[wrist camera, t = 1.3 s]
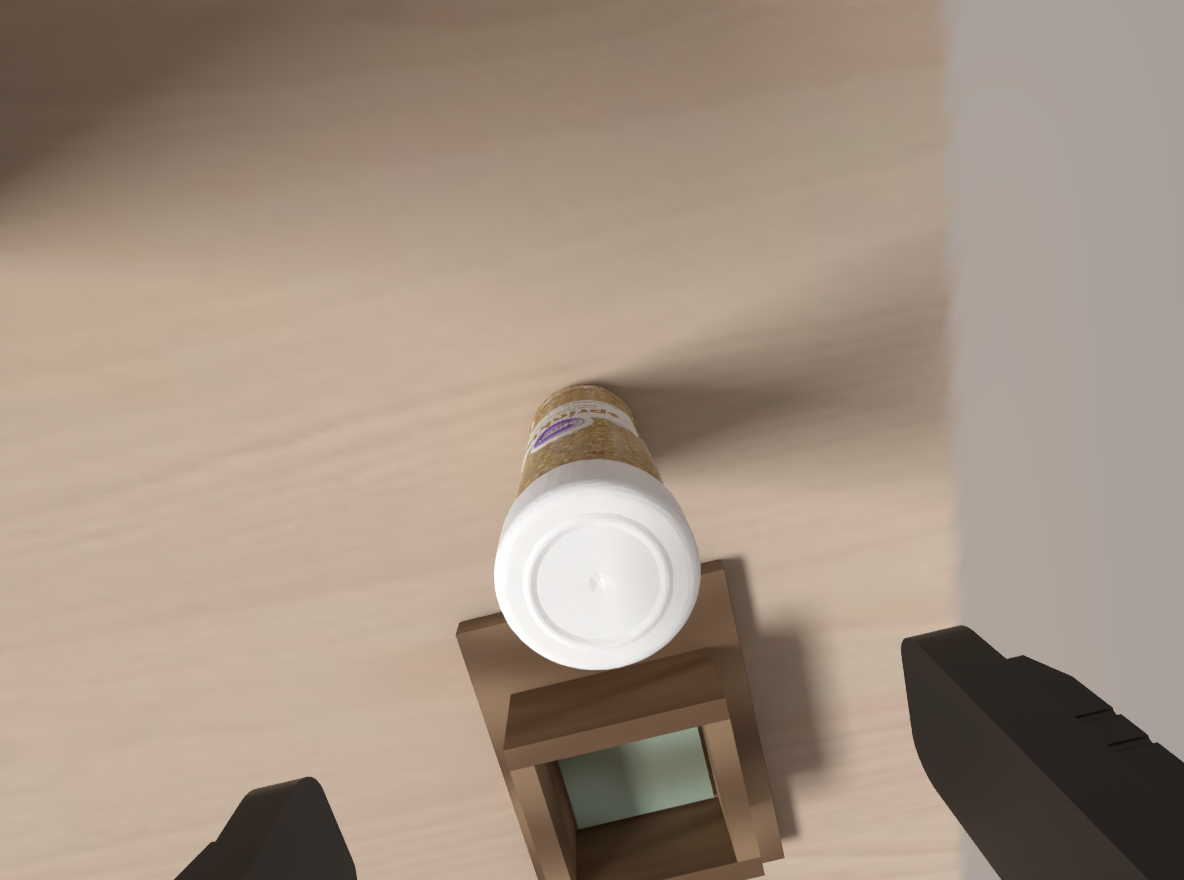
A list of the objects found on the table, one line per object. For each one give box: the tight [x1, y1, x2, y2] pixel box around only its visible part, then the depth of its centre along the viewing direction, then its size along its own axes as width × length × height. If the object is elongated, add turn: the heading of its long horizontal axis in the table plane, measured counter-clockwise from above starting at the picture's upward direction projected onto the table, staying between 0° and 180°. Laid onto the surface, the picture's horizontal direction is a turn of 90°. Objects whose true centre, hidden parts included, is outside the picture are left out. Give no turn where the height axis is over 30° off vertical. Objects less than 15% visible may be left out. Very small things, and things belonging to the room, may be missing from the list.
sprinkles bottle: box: [494, 385, 701, 670], centre depth 20 cm, size 5×5×14 cm
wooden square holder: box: [456, 560, 785, 880], centre depth 28 cm, size 16×12×4 cm
